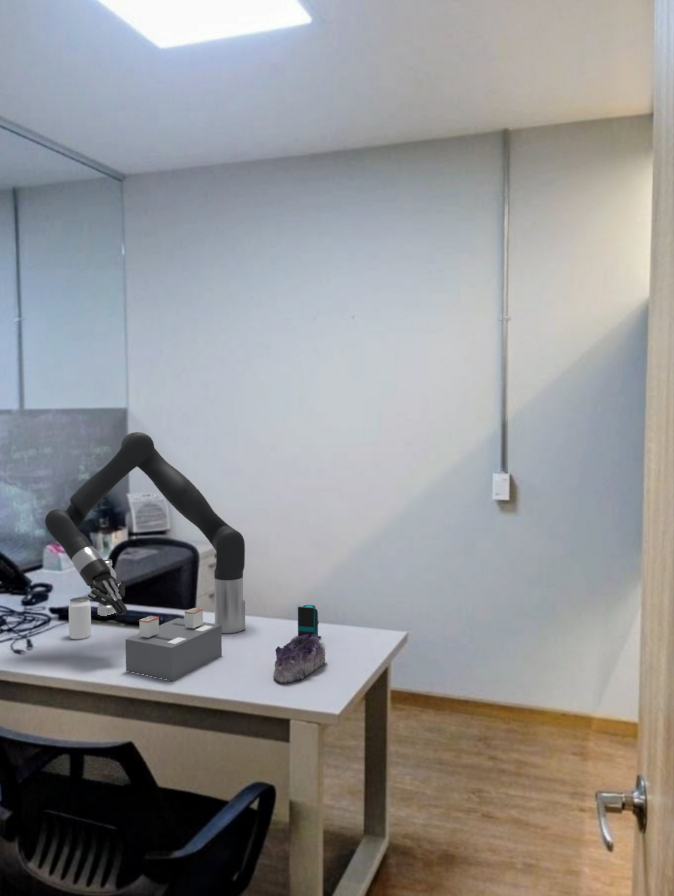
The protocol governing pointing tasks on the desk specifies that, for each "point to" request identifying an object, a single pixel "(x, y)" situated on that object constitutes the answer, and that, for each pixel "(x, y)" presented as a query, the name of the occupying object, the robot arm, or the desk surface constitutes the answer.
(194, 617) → the switch
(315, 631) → the surveillance camera
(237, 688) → the desk surface
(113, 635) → the desk surface
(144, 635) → the switch
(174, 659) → the power box
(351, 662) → the desk surface
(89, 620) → the can
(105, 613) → the plastic bottle
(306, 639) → the geode
